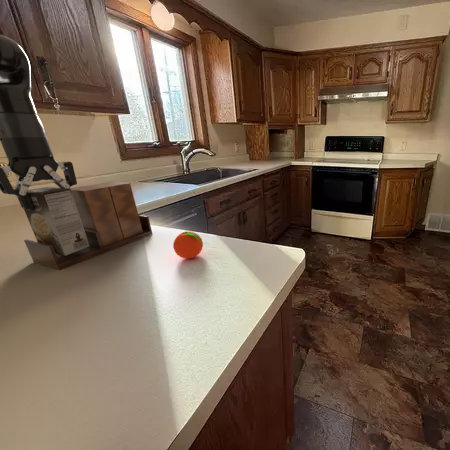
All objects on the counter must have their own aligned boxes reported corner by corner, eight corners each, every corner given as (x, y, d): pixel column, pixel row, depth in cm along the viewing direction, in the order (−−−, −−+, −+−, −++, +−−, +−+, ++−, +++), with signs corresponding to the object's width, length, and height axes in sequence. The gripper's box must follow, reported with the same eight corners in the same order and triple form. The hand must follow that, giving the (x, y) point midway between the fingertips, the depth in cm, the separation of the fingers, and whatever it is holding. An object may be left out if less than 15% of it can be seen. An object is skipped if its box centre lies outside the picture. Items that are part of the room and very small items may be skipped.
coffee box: (39, 252, 63) (14, 191, 58) (67, 243, 69) (46, 186, 64) (65, 256, 61) (40, 192, 55) (91, 246, 67) (72, 187, 61)
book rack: (58, 270, 59) (30, 201, 53) (33, 262, 64) (4, 197, 58) (152, 233, 81) (139, 181, 75) (128, 229, 85) (114, 180, 79)
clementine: (213, 253, 65) (209, 228, 63) (195, 265, 59) (189, 238, 57) (190, 249, 68) (185, 226, 66) (169, 261, 62) (164, 235, 60)
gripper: (54, 136, 63) (75, 199, 69) (-33, 136, 51) (1, 213, 56) (70, 135, 60) (91, 201, 66) (-18, 135, 48) (17, 216, 53)
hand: (50, 206), depth 61 cm, fingers closed on coffee box, 6 cm apart
